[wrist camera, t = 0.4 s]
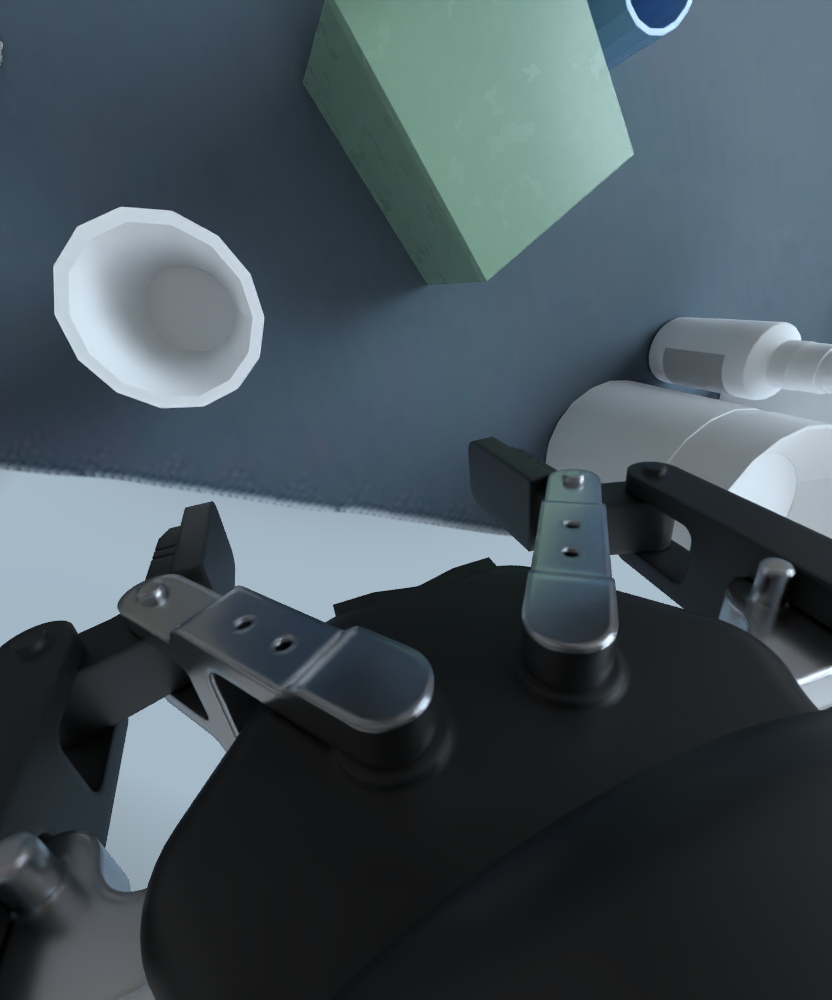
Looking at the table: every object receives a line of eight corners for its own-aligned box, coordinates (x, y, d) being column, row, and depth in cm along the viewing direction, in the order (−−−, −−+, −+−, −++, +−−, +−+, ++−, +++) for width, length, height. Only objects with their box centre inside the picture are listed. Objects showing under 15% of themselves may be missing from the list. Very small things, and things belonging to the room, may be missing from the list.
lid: (314, -24, 22) (331, -106, 17) (512, -196, 22) (582, -325, 17) (481, 281, 30) (522, 279, 26) (626, 157, 30) (692, 132, 26)
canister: (519, 456, 49) (668, 543, 32) (626, 347, 48) (839, 375, 31) (586, 536, 57) (735, 639, 40) (679, 443, 56) (872, 509, 39)
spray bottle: (638, 377, 50) (814, 414, 35) (660, 311, 48) (860, 319, 32) (683, 384, 53) (866, 421, 37) (705, 322, 50) (911, 333, 35)
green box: (302, 82, 31) (324, -3, 22) (441, -39, 31) (520, -173, 22) (427, 285, 39) (481, 282, 30) (538, 189, 39) (625, 157, 30)
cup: (553, -24, 33) (628, -101, 27) (621, -20, 35) (706, -92, 28) (552, 81, 36) (618, 35, 30) (614, 81, 38) (691, 36, 31)
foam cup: (93, 250, 31) (7, 225, 20) (230, 226, 33) (223, 189, 22) (156, 387, 35) (114, 429, 24) (274, 358, 37) (286, 384, 26)
